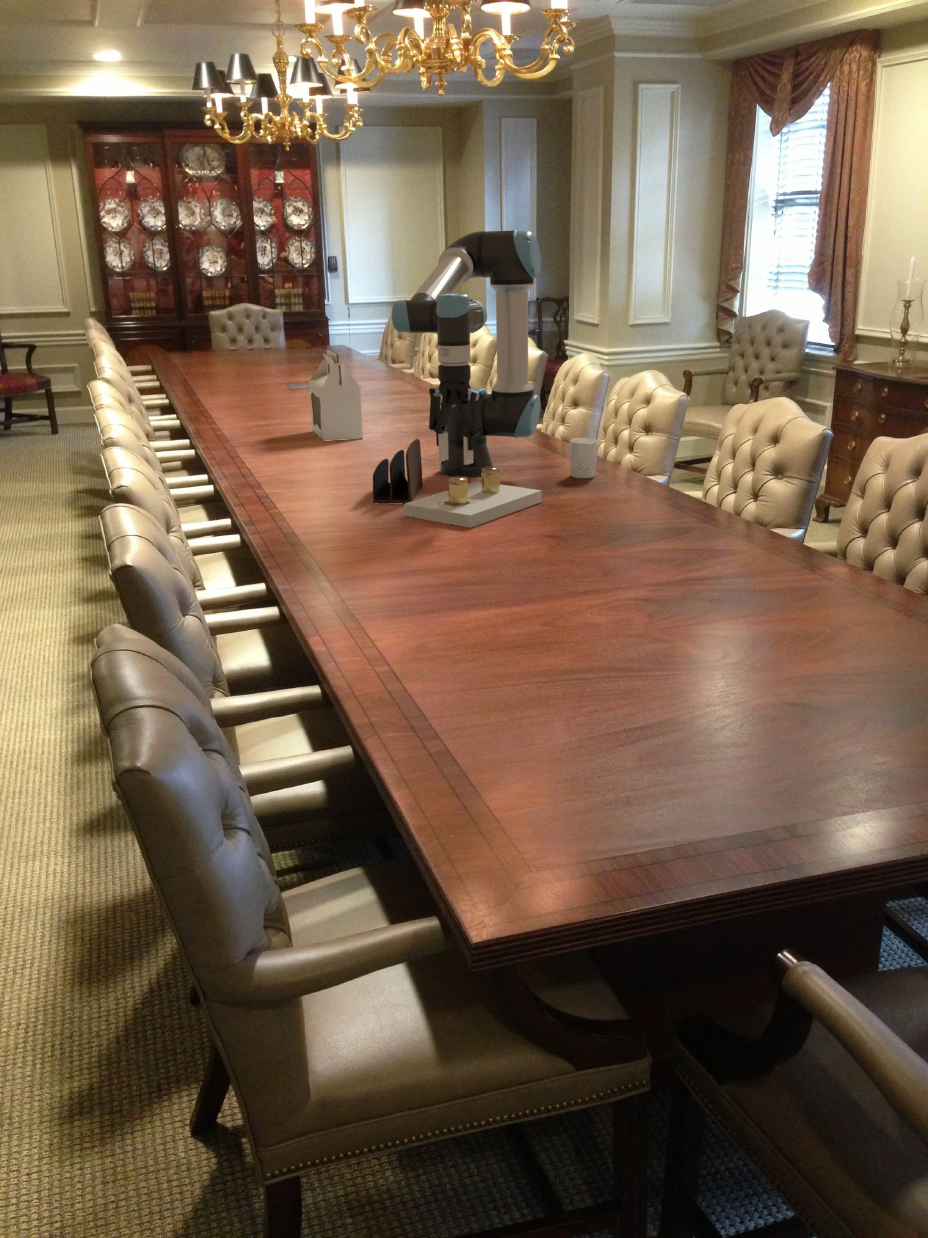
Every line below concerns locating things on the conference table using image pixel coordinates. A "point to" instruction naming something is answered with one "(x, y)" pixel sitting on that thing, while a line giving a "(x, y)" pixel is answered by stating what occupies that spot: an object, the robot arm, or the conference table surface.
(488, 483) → the cylinder
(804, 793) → the conference table surface
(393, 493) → the letter holder
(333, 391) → the gable box
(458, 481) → the loose bushing
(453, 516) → the jig plate
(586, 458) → the white cup
